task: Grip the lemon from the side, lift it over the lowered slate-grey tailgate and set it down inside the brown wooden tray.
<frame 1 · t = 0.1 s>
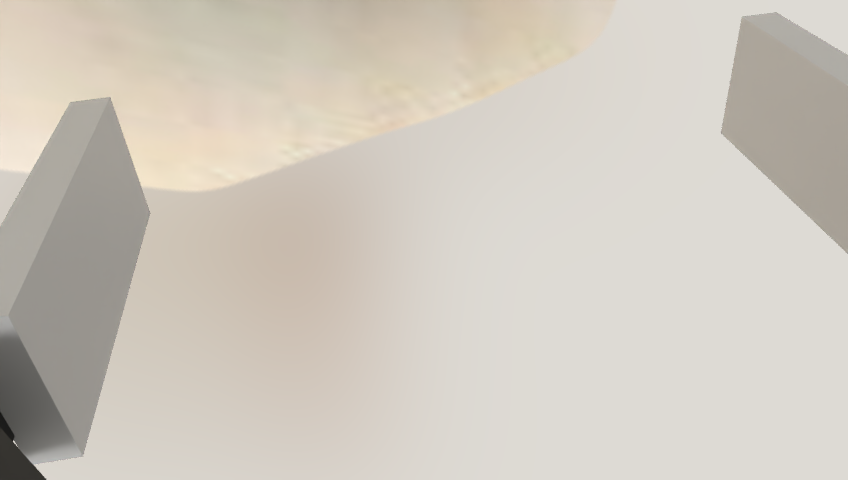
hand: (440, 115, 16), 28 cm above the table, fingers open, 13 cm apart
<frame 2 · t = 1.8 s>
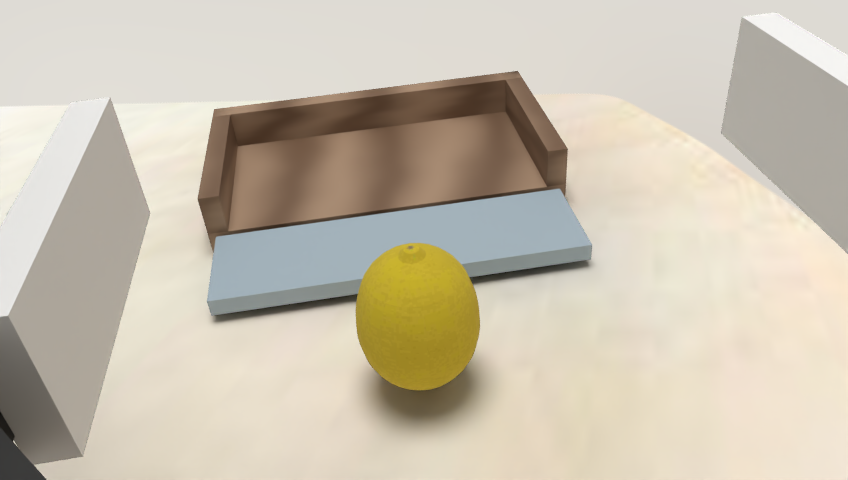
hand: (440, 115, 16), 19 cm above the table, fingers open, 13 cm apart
tailgate: (397, 247, 43), point 1 cm above the table, hinge at 90.0°
lemon: (424, 383, 36), on the table
brown wooden tray: (382, 179, 51), on the table
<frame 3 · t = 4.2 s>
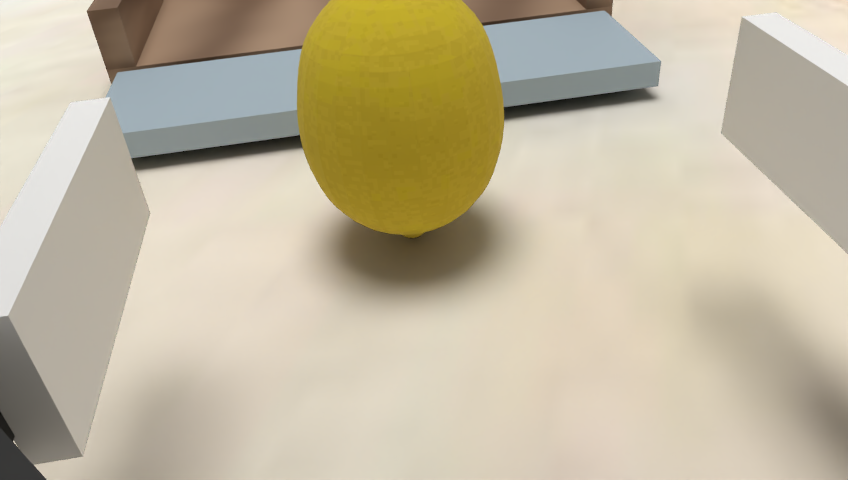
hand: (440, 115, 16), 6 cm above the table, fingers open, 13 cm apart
tailgate: (376, 78, 30), point 1 cm above the table, hinge at 90.0°
lemon: (413, 240, 23), on the table
brown wooden tray: (359, 25, 38), on the table
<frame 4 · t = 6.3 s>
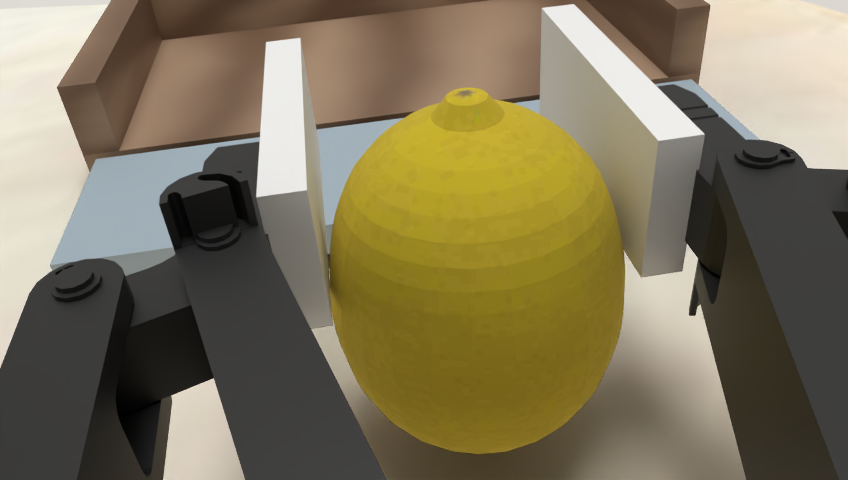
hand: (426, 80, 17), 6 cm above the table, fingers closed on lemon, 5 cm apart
tailgate: (416, 172, 24), point 1 cm above the table, hinge at 90.0°
lemon: (481, 430, 17), on the table, touching gripper
brown wooden tray: (387, 84, 32), on the table
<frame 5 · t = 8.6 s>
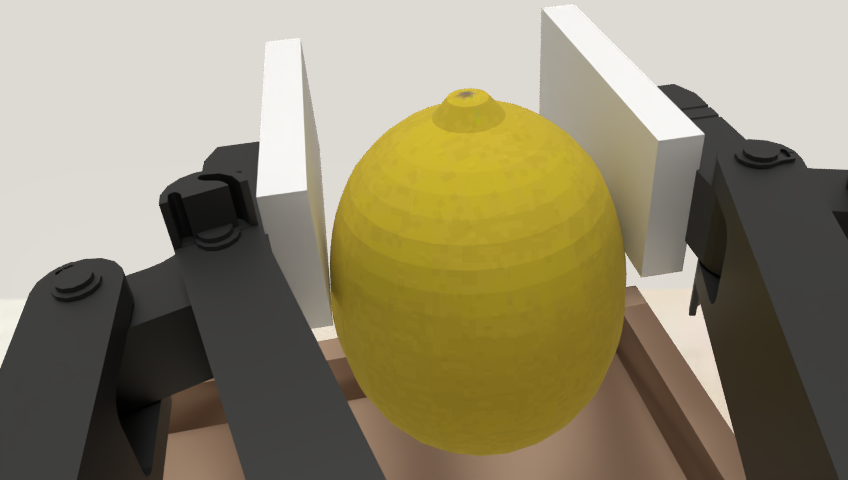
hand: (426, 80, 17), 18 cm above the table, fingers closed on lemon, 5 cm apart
lemon: (482, 431, 17), point 12 cm above the table, touching gripper
when the fingers open (9 cm above the table, at t = 11.0 s): lemon drops 1 cm, resting on brown wooden tray.
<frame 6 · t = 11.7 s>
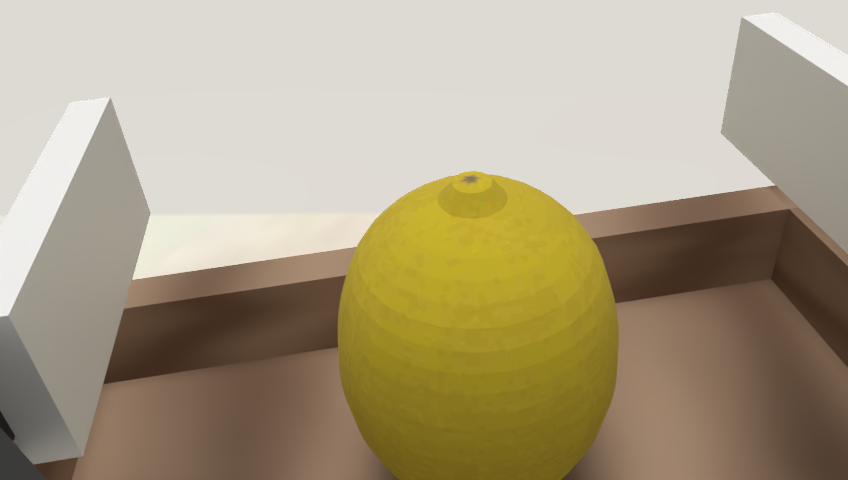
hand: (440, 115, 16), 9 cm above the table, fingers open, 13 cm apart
lemon: (479, 473, 17), point 1 cm above the table, touching brown wooden tray
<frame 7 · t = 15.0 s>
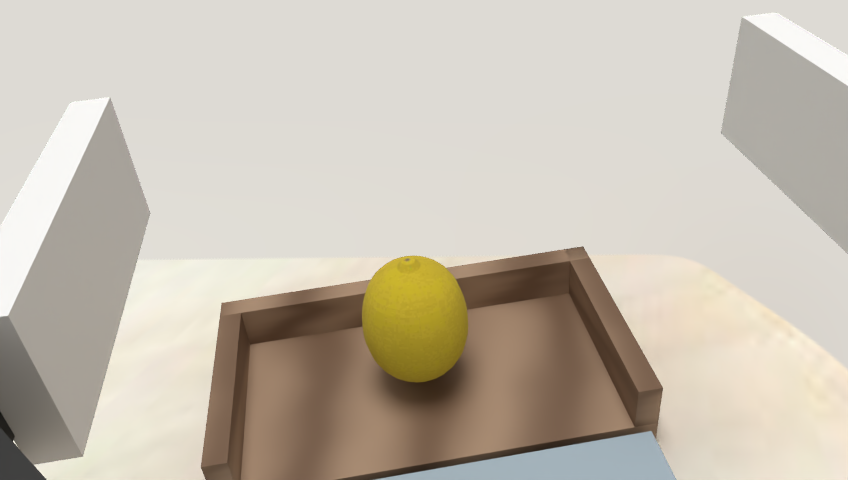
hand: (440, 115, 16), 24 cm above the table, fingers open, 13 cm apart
lemon: (421, 377, 41), point 1 cm above the table, touching brown wooden tray
brown wooden tray: (425, 393, 42), on the table
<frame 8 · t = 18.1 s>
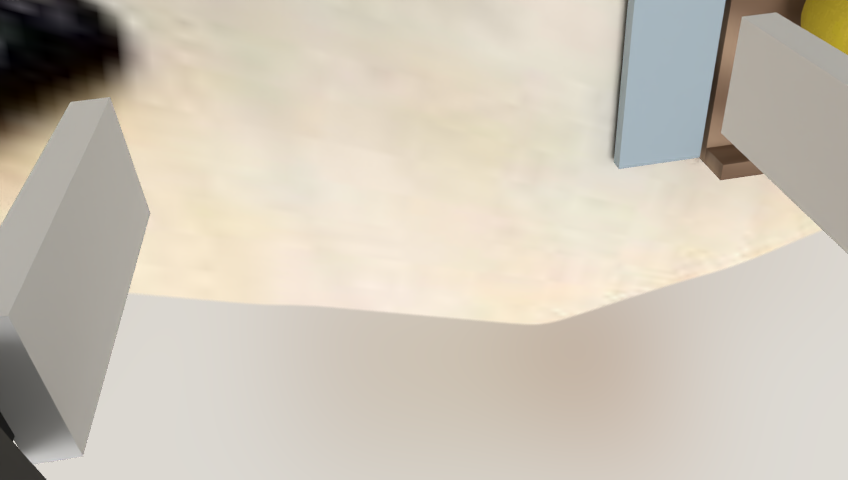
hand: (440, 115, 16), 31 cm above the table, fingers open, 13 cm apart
tailgate: (674, 15, 47), point 1 cm above the table, hinge at 90.0°
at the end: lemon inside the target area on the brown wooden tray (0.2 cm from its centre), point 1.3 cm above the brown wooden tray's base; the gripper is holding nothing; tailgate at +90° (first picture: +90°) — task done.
